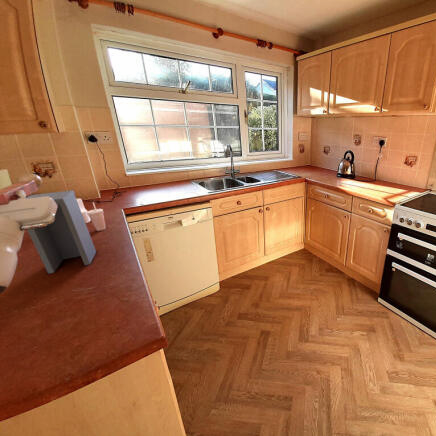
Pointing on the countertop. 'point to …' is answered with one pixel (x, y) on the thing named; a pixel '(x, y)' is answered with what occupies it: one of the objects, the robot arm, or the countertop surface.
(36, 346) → the countertop surface
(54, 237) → the shelf
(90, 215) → the smoothie
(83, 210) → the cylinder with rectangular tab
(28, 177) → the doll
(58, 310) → the countertop surface
